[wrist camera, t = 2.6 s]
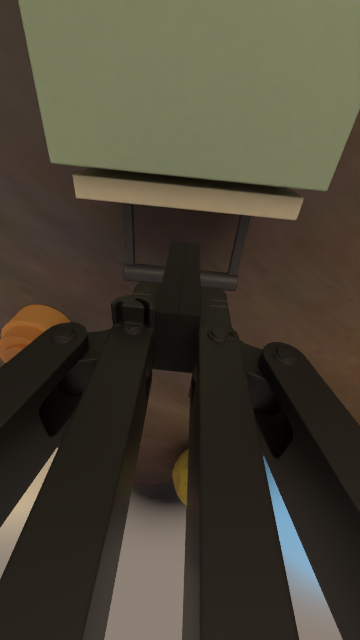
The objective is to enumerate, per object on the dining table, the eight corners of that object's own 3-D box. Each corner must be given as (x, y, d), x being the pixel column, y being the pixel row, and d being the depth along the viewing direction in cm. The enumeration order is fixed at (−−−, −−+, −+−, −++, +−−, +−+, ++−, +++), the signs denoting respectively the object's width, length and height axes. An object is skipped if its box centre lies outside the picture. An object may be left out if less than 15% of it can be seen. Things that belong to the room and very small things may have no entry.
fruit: (161, 448, 50) (155, 508, 42) (201, 426, 44) (203, 490, 36) (202, 466, 54) (203, 524, 46) (243, 448, 48) (253, 510, 40)
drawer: (246, 266, 24) (263, 313, 18) (118, 253, 24) (91, 296, 18) (368, -196, 11) (605, -649, 5) (84, -229, 11) (-74, -737, 4)
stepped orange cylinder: (16, 336, 33) (-13, 369, 28) (19, 295, 29) (-15, 326, 24) (70, 354, 35) (50, 388, 30) (79, 317, 30) (59, 350, 26)
